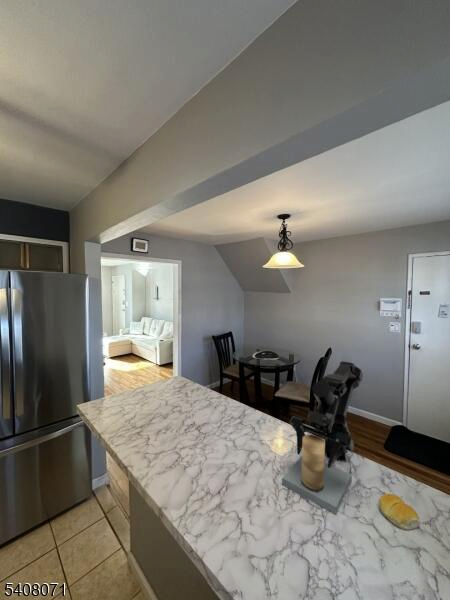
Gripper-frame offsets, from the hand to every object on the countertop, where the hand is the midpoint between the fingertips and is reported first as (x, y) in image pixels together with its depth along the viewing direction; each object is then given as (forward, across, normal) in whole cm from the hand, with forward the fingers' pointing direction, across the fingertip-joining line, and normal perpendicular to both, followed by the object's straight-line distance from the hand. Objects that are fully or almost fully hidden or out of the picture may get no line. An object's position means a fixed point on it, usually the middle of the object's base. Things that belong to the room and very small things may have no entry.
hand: (312, 460), depth 75 cm
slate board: (+3, 0, +10) cm, 10 cm away
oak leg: (+6, 0, +7) cm, 9 cm away
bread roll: (+2, +21, +12) cm, 24 cm away
